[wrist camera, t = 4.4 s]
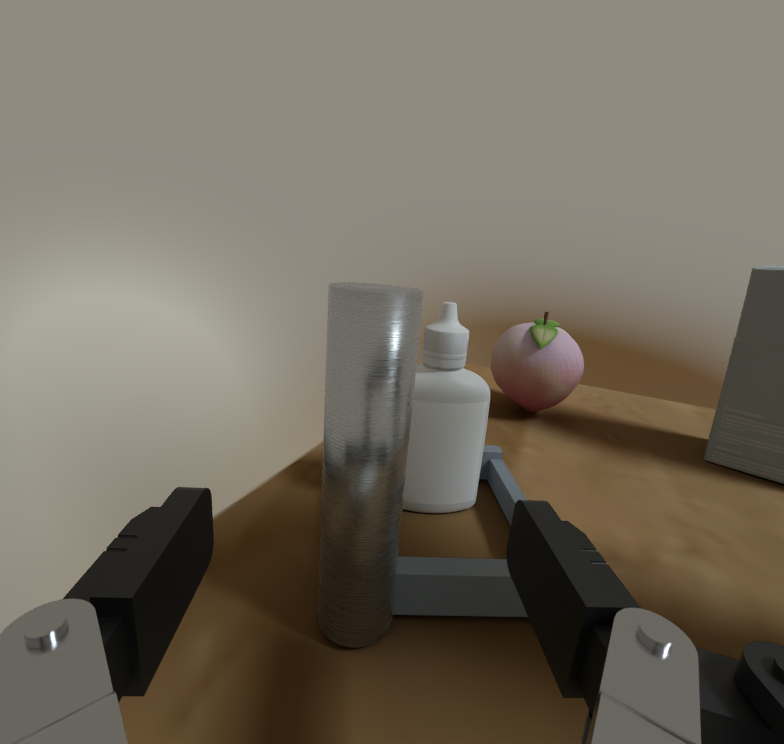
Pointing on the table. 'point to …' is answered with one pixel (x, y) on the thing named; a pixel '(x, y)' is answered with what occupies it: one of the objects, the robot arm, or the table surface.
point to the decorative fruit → (537, 364)
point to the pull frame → (387, 480)
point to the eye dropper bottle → (445, 422)
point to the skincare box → (754, 385)
